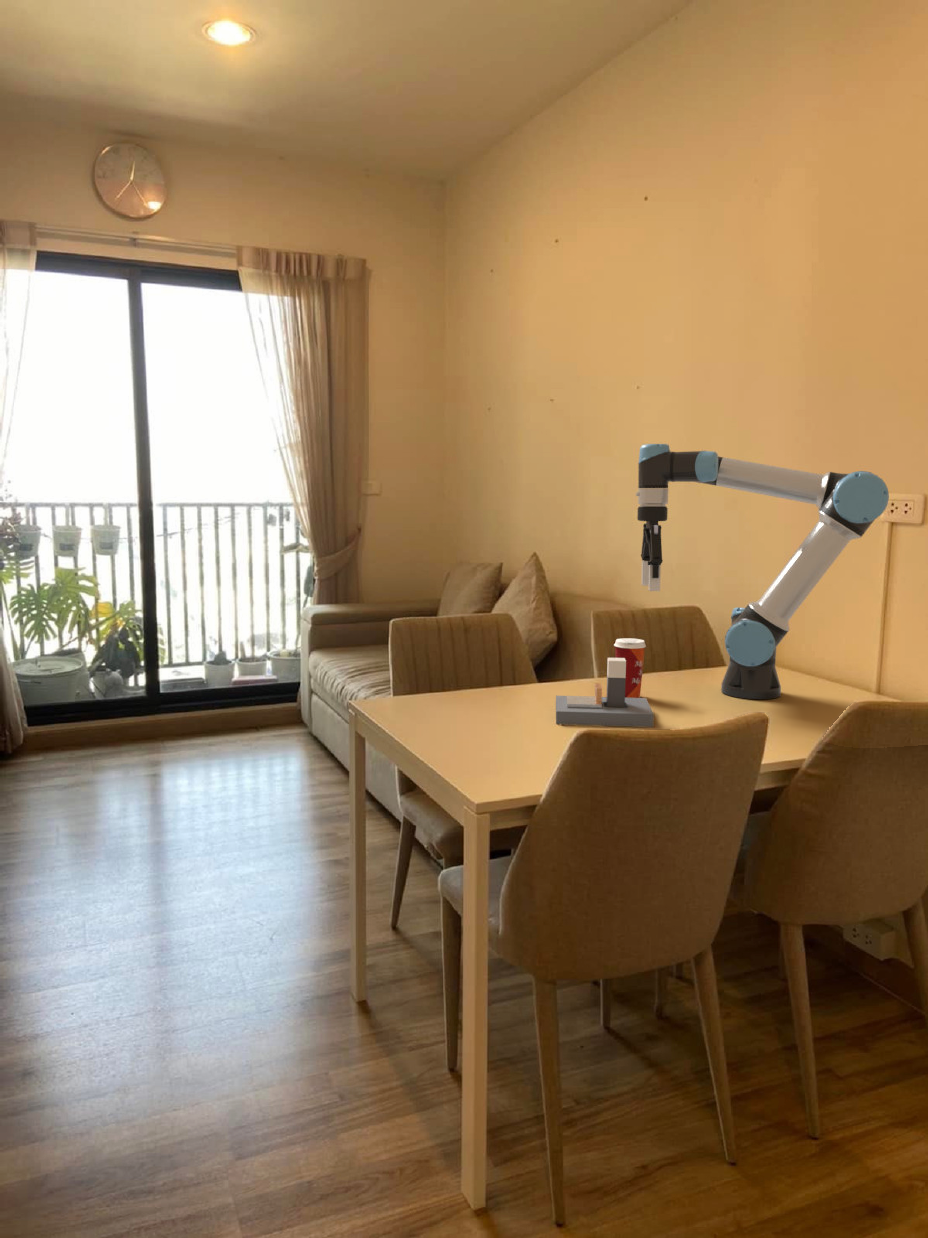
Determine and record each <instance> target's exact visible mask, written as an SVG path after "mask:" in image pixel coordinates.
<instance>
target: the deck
mask: <svg viewBox="0 0 928 1238" xmlns="http://www.w3.org/2000/svg"><path fill="white" fill-rule="evenodd" d="M566 696H567V695H555V724H556V725H571V726H572V725H574V726H576V725H577V726H605V727H607V726H609V727H610V726H612V727H642V728H646V727H647V728H648V727H649V728H653V727H654V713H653V710H652V708H651V706H650V704H649V702H648V699H647V697H640V698H625V708H613V707H606V696H602V701H601V704H602V708H582V707H567V700H566ZM585 697H590V696H586V695H585Z"/></svg>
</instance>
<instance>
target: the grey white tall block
mask: <svg viewBox="0 0 928 1238" xmlns="http://www.w3.org/2000/svg"><path fill="white" fill-rule="evenodd" d="M606 663H607V667H606V670H607V671H606V696H605V697H606V707H613V708H625V679H626V660H625V658H615V657H607V662H606Z"/></svg>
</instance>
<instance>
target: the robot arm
mask: <svg viewBox="0 0 928 1238" xmlns="http://www.w3.org/2000/svg"><path fill="white" fill-rule="evenodd" d="M638 456H639V457H638V459H639V460H638V479H637V480H638V484H637V485H638V486H637V487H638V490H637V492H635V496H636V497H638V498H637V504H638V505H640V506H638V507H637V518H636V519H637V521H639V522H645V523H643V525H642V526H643V530H642V532H643V533H642V541H641V542H642V545H641V552H640V553H641V554H640V557H641V560H642V561H641V586H643V587H644V586H645V587H646V586H648V591H649V592H661V573H662V571H661V570H662V569H661V567H662V566H661V565H662V563H663V551H662V549H663V548H662V525H660V524H659V522H666V521H667V520H668V507H667V506H666V505H668V504H669V483H671V482H672V483H676V482H677V483H678V482H679V483H681V482H685V483H687V482H688V483H698V484H704V485H710V486H715V487H716V486H717V487H723V488H727V489H733V490H738V491H743V492H747V493H753V494H759V495H764V496H769V497H773V498H778V499H785V500H790V501H795V502H801V503H805V504H812V505H815V506H816V507H817V508H818V511H817V513H818V521H817V522H816V524H814V526H813V528H812V529H811V530H810V532H809V533H808V534H807V536H806V537H805V538H804V540H803V541H802V542H801V544H800V545H799V546H798V548H797V549H796V550H795V551H794V553H793V554H792V555H791V556H790V558H789V560H788V561H787V562H786V564H785V565H784V566H783V568H782V569H781V570H780V571H779V573H778V574H777V575H776V577H775V578H774V579H773V581H772V582H771V584H770V585H769V586H768V587H767V589H766V590H765V591H764V593H763V594H762V596H761V597H760V598H759V599H758V600H756V601H751V602H748V604H747V605H746V606H745V607H734V608H733V609H732V611H731V615H730V619H731V624H730V627H728V630H727V631H726V633H725V637H724V646H725V649H726V652H727V655H728V656H729V664H728V666H727V669H726V671H725V674H724V676H723V678H722V682H721V689H720V691H721V693H722V694H724V695H727V696H730V697H734V698H740V699H745V700H746V699H747V700H773V699H778V698H779V697H781V696H782V695H781V693H782V687H781V683H780V680H779V675H778V672H777V668H776V658H777V657H776V656H777V647H778V645H779V644H780V643H781V642H782V640H783V639H784V638H785V636H786V635H787V634H788V633H789V631H790V627H789V621H790V620H791V618H792V617H793V616H794V614H795V613H796V612H797V610H798V609H799V608H800V607H801V605H802V604H803V602H804V601H805V600H806V599H807V597H808V596H810V595H809V594H811V592H812V591H813V589H814V588H815V587H816V586H817V584H818V583H819V582H820V580H821V579H822V578H823V576H824V575H825V574H826V572H827V571H828V570H829V568H830V567H831V566H832V565H833V564H834V563H835V561H836V560H837V558H838V557H839V556H840V555H841V553H842V552H843V551H844V550H845V548H846V547H847V546H848V544H849V543H850V541H852V540H856V539H857V540H858V539H861V538H862V537H863V536H864V534H865V533H866V532H867V531H868V529H869V528H870V527H871V525H872V524H873V523H874V522H875V520H876V519H878V518H879V517H881V516H882V514H883V513H884V512H885V511H886V509H887V507H888V505H889V499H890V492H889V488H888V487H887V484H886V482H885V481H884V479H882V478H881V477H880V476H878V474H874V473H872V472H871V471H865V470H859V471H853V472H851V473H840V472H839V473H838V472H833V471H828V472H826V473H823V474H820V473H814V472H809V471H804V470H803V471H802V470H798V469H793V468H786V467H780V466H774V465H770V464H764V463H763V464H762V463H758V462H752V461H746V460H740V459H737V458H736V459H735V458H729V457H723V456H719V454H718V453H717V452H716V451H709V450H695V451H694V450H692V451H671V449H670V445H669V444H667V443H646V444H642V445H641V446H640V448H639V455H638Z"/></svg>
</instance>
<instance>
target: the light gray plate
mask: <svg viewBox="0 0 928 1238" xmlns="http://www.w3.org/2000/svg"><path fill="white" fill-rule="evenodd" d="M601 684H602V683H600V682H595V685H594V687H595V689H594V696H589V697H585V696H586V695H585V696H580V695H565V696H566V700H567V707H582V708H602V704H601V701H602V697H603V695H602V694H603V692H602V691H603V689H602V685H601Z"/></svg>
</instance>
